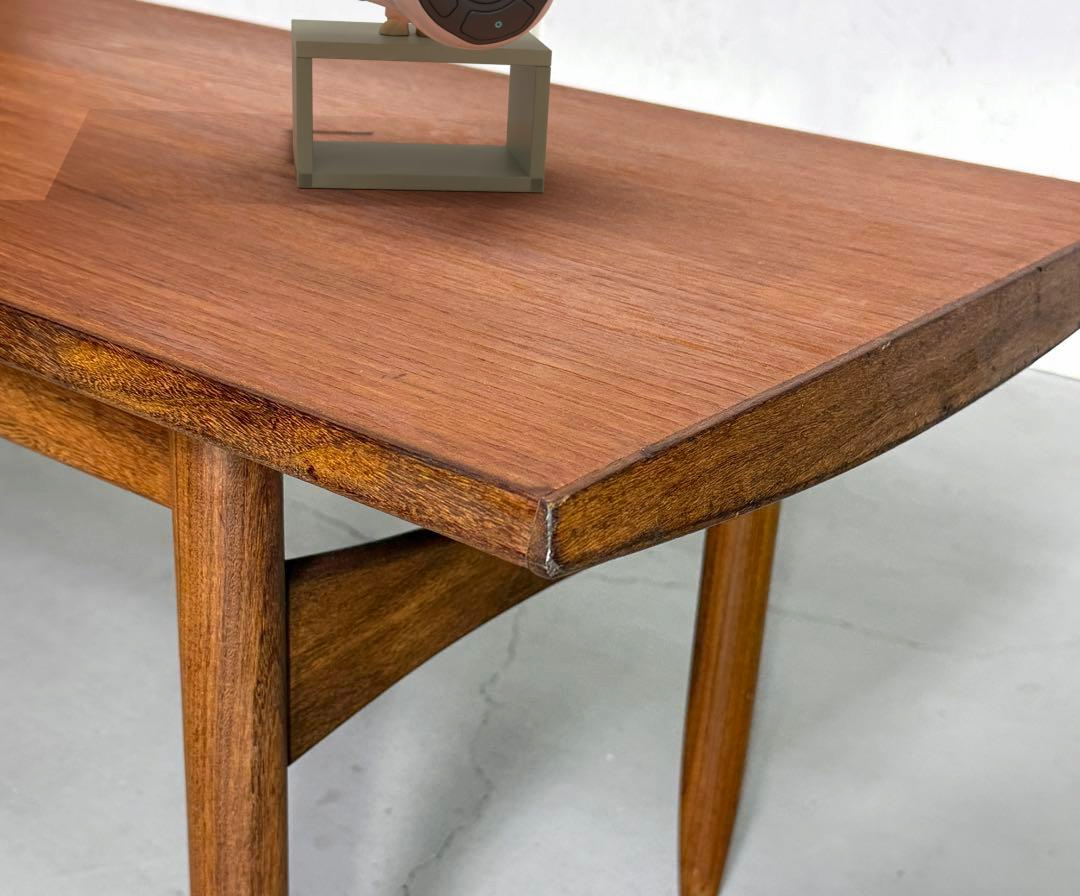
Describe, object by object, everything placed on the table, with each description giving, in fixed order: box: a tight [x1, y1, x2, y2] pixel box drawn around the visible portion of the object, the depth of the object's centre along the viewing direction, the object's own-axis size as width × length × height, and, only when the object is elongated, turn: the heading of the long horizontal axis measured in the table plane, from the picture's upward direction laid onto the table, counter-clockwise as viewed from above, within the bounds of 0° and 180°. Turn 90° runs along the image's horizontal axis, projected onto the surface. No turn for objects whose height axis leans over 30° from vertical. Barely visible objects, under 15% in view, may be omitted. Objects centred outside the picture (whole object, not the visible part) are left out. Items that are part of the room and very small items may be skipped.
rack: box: [290, 18, 553, 194], centre depth 99 cm, size 16×10×9 cm, turn 100°
